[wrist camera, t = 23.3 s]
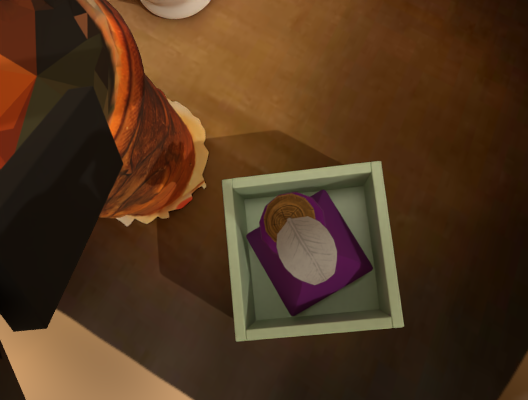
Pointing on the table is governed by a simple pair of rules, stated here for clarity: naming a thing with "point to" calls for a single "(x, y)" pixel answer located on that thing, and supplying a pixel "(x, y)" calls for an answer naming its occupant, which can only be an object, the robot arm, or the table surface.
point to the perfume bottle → (307, 249)
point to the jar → (175, 7)
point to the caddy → (339, 303)
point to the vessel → (109, 95)
